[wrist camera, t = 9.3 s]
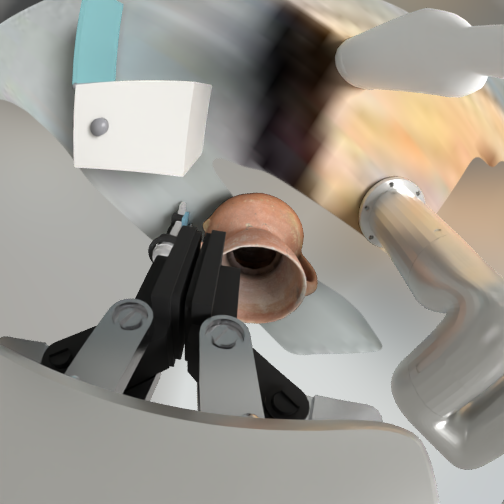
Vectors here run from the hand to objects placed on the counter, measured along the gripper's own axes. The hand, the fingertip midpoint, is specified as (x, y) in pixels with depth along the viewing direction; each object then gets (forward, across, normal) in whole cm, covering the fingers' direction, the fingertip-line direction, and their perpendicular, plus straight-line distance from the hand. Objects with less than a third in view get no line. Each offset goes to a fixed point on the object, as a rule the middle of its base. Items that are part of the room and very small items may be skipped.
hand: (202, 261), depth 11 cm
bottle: (+29, -14, -15) cm, 36 cm away
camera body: (+29, +12, -2) cm, 32 cm away
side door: (+28, +20, -13) cm, 37 cm away
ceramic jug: (+29, -5, +14) cm, 33 cm away
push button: (+29, +7, +14) cm, 33 cm away
